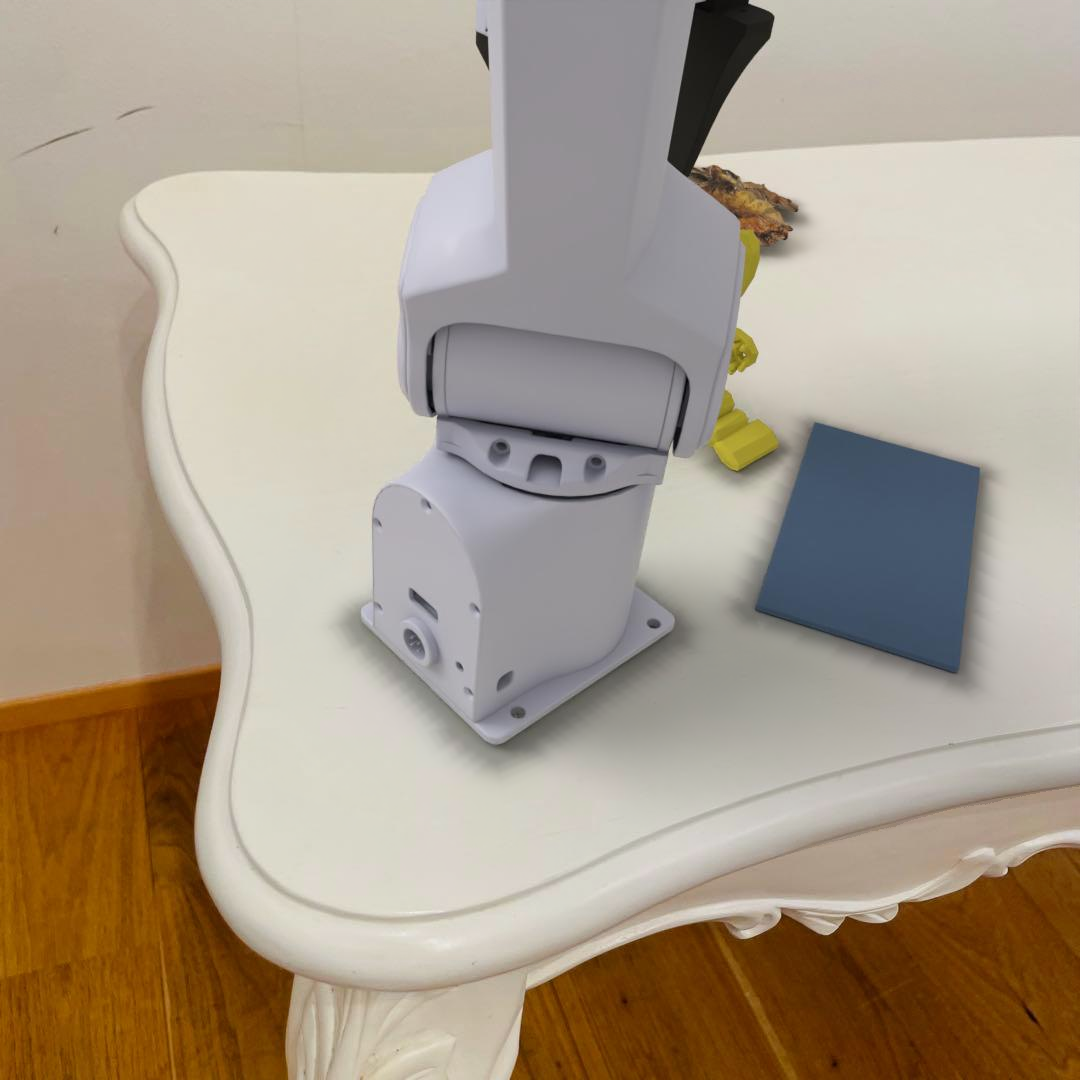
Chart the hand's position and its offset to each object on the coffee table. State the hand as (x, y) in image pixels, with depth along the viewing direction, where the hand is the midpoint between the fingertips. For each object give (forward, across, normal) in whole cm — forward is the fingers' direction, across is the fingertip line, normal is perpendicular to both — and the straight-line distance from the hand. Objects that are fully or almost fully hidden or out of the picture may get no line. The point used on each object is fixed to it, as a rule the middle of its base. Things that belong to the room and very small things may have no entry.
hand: (608, 190), depth 48 cm
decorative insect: (+11, -2, +3) cm, 11 cm away
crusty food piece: (+11, -21, -9) cm, 26 cm away
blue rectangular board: (+10, -3, +16) cm, 19 cm away
